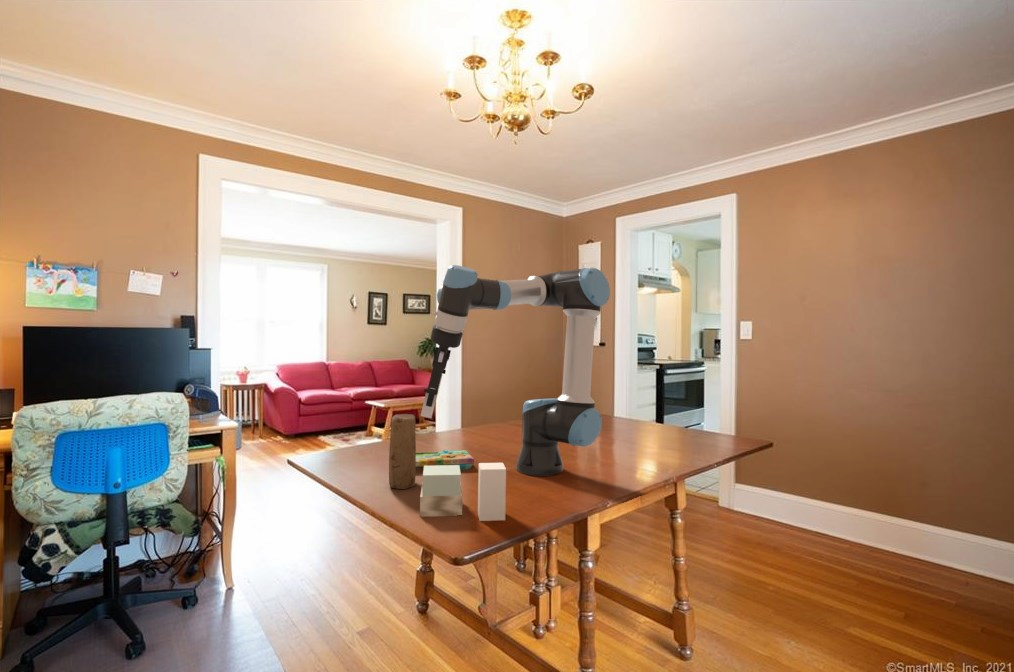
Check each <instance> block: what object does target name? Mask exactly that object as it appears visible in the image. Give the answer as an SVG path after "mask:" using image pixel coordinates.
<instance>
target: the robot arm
mask: <svg viewBox="0 0 1014 672" xmlns="http://www.w3.org/2000/svg"><path fill="white" fill-rule="evenodd" d="M478 275H479V274H478V272H477V271H476V270H475V269H473V268H469V267H467V266H462V265H456V264H453V265H449V266H448V267H447V270H446V273H445V276H444V280H442V285H441V286H440V287H439V289H438V290H437V293H436V299H437V303H438V307H437V310H436V311H434V312H433V315H434V316H435V317H434V322H433V323H434V325H433V326H432V330H431V334H430V341H431V342H432V343H433V344H436V345H437V346H435V348H434V350H433V351H434V352H433V360H432V363H431V367H432V370H431V375H430V377H429V378H430V379H429V381H428V385H427V386H428V387H427V388H423V392H424V393H425V396H424V400H423V404H422V408H421V412H420V417H423V418H428V419H432V418H433V413H434V410H435V406H436V401H437V398H438V394H439V390H440V386H441V381H442V379H443V374H444V375H445V374H446V371H447V370H446V368H447V363H448V361H449V360H450V355H451V352H452V350H451V349H449V348H453V349H455V348H456V349H457V348H458V347H459V346H461V343H462V338H463V334H464V333H463V332H464V331H465V327H466V324H467V320H468V315H469V311H471V310H492V311H493V310H494V311H495V310H505V309H506V308H508V306H516V305H517V306H519V305H525V304H526V305H527V304H529V305H531V306H533V307H540V306H541V307H542V306H544V307H555V308H562V312H563V313H564V315H565V316H566V327H565V328H566V331H565V341H564V344H565V345H564V347H565V348H564V358H563V359H564V361H563V363H564V364H563V372H562V373H563V375H562V376H563V377H562V390H561V394H560V395H559V396H558V397H557V398H554V397H553V398H538V399H537V398H536V399H528V400H526V401H524V403H523V407H522V412H521V413H522V415H521V416H522V429H521V431H522V432H521V433H522V434H521V435H522V437H521V438H522V439H521V440H522V442H521V445H522V446H521V449H520V451H519V454H518V458H517V460H516V471H518V472H519V473H521V474H525V475H528V476H529V475H530V476H537V477H545V476H546V477H547V476H548V475H549V476H555V474H556V475H559V474H558V473H560V472H562V471H563V472H564V462H563V460H562V459H563V458H562V456H561V453H560V449H559V443H563V444H568V445H571V446H573V447H576V446H577V447H588V446H591V445H592V444H593V443H594V442H595V440H596V439H598V437H599V435H600V433H601V430H602V426H603V425H602V422H603V418H602V415H601V413H600V411H599V410H598V409H597V408H595V407H596V406H595V404H596V403H595V402H596V401H594V399H593V398H592V397H591V390H592V389H591V388H592V373H593V372H592V371H593V358H594V357H593V356H594V342H595V341H594V339H595V327H596V318H597V317H598V316H599V315H600V314H601V311H602V310H601V308H602V307H603V306H605V305H607V303H608V301H609V300H610V295H611V293H610V292H611V291H610V290H611V289H610V284H609V283H610V282H609V281H608V279H607V277H606V275H605V273H604V272H603V271H601V270H600V269H598V268H595V267H591V268H590V267H583V268H577V269H569V270H559V271H558V270H557V271H555V272H549V273H545V274H540V275H531V276H529V277H528V278H527V279H509V280H507V279H506V280H498V279H495V280H494V279H489V278H488V279H487V278H480V277H479V278H478ZM563 472H562V473H563ZM560 474H561V473H560Z"/></svg>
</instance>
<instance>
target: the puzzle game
mask: <svg viewBox="0 0 1014 672" xmlns="http://www.w3.org/2000/svg"><path fill="white" fill-rule="evenodd" d="M474 464H475V459H474V457H473V456H472V455H471V454H470V453H469V452H468V451H467V450H465V449H464V450H463V449H461V450H448V449H446V450H443V451H429V452H427V451H426V452H416V468H417V467H419V468H420V469H421V470H422V471H423V470H424V466H436V465H459V466H460V471H461V470H470V469H471V468H472V466H473V465H474Z"/></svg>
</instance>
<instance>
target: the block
mask: <svg viewBox="0 0 1014 672" xmlns="http://www.w3.org/2000/svg"><path fill="white" fill-rule="evenodd" d="M416 427H417V425H416V416H415V415H414V414H412V413H411V414H410V413H409V414H408V413H403V414H402V413H401V414H400V413H399V414H395V415H393V416H392V417H391V421H390V432H389V433H390V434H389V448H388V449H389V450H388V451H389V453H388V485H389V487H390V488H392V489H398V490H404V489H405V490H406V489H410V488H412V487H414V486H415V485H416V469H417V467H416V453H417V452H416V450H417V449H416V447H417V446H416V445H417V444H416V441H417V439H416V433H417V432H416Z"/></svg>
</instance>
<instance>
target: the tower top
mask: <svg viewBox="0 0 1014 672" xmlns="http://www.w3.org/2000/svg"><path fill="white" fill-rule="evenodd" d="M461 479H462V474H461V470H460V466H459V465H436V466H424V470H422V484H423V493H422V496H460V487H461V488H462V484H461V483H462V481H461Z"/></svg>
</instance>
